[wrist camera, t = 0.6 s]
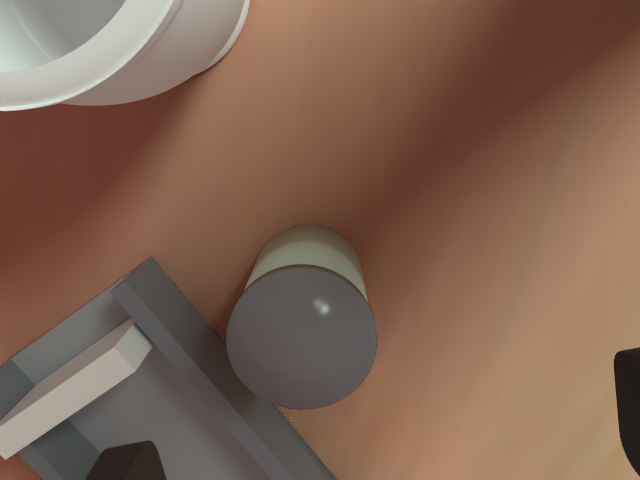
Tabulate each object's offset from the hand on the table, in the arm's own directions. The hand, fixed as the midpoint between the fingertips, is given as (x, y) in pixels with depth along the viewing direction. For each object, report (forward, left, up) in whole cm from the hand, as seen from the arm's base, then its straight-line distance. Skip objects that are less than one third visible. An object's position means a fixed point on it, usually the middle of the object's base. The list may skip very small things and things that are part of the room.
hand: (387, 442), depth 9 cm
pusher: (+16, -1, -19) cm, 25 cm away
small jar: (+4, +2, -20) cm, 21 cm away
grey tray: (+16, +6, -20) cm, 27 cm away
